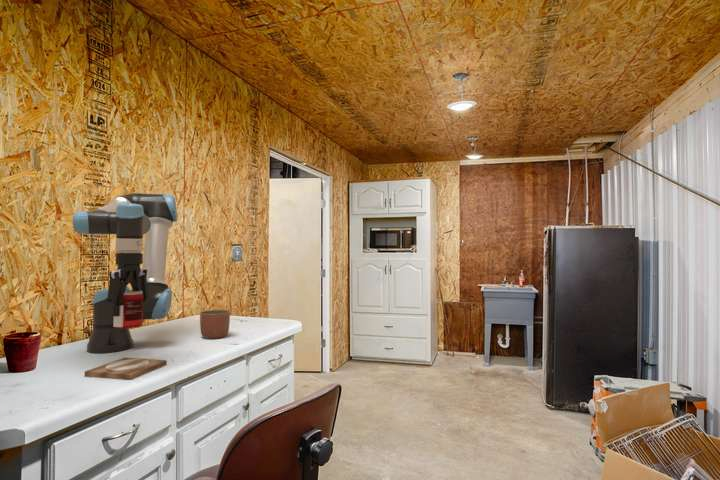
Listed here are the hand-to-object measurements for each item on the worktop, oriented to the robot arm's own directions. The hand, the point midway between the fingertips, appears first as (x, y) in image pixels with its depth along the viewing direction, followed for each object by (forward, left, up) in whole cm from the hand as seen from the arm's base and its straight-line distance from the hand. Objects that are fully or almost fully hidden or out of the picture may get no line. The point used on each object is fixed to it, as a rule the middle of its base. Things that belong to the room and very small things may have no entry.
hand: (128, 324), depth 130 cm
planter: (+1, +50, -15) cm, 52 cm away
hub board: (0, 0, -15) cm, 15 cm away
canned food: (0, 0, -1) cm, 1 cm away
